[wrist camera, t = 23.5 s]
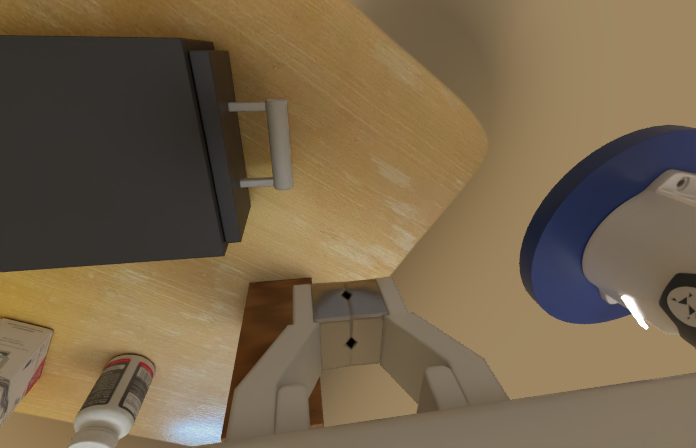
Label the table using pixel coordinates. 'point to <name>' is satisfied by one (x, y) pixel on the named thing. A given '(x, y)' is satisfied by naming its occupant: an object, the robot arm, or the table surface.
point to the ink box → (20, 361)
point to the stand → (267, 337)
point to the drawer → (235, 139)
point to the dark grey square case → (102, 153)
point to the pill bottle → (113, 403)
